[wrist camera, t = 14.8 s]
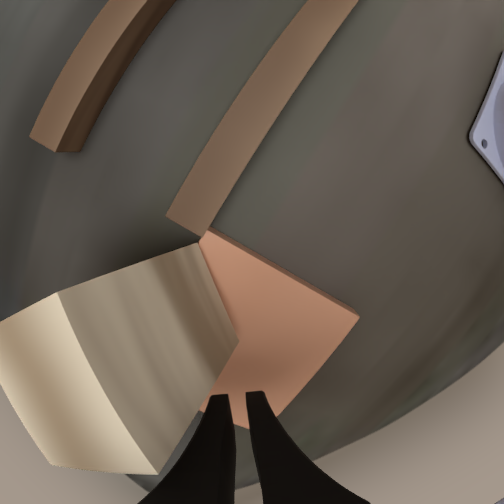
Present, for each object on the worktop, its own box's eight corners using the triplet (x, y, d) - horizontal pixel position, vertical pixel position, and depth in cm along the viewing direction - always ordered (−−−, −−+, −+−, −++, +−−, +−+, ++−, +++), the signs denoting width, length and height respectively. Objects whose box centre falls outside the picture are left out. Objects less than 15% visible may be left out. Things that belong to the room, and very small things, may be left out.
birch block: (197, 242, 13) (56, 292, 5) (239, 341, 13) (158, 474, 6) (116, 277, 14) (-22, 334, 6) (155, 363, 15) (50, 464, 7)
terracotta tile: (353, 308, 16) (360, 317, 15) (259, 421, 18) (261, 433, 17) (207, 224, 14) (206, 229, 13) (130, 365, 16) (125, 376, 15)
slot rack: (360, -7, 11) (380, -28, 9) (207, 224, 14) (202, 237, 12) (216, -77, 10) (214, -104, 7) (56, 137, 13) (29, 136, 10)
